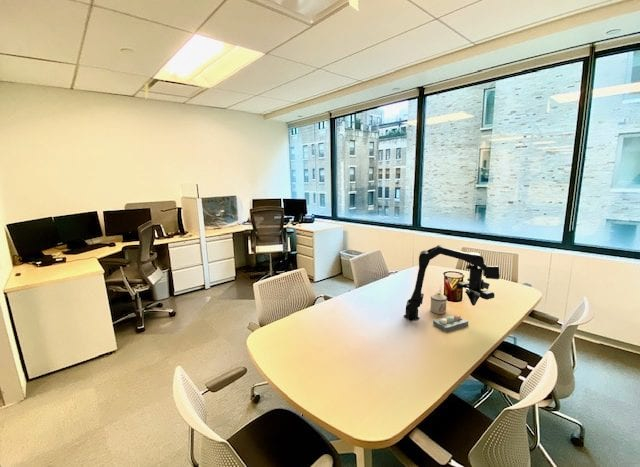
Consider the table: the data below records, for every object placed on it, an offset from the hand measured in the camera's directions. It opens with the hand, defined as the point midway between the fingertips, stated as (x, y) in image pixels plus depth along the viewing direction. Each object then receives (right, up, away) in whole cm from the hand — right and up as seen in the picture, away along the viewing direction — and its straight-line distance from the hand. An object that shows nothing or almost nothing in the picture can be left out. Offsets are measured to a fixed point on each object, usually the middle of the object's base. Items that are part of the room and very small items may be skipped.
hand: (473, 305), depth 156 cm
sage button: (-10, -11, +4) cm, 16 cm away
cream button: (-15, -12, +2) cm, 19 cm away
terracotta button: (-6, -11, +6) cm, 14 cm away
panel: (-10, -12, +4) cm, 16 cm away
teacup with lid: (-9, -9, +22) cm, 25 cm away
